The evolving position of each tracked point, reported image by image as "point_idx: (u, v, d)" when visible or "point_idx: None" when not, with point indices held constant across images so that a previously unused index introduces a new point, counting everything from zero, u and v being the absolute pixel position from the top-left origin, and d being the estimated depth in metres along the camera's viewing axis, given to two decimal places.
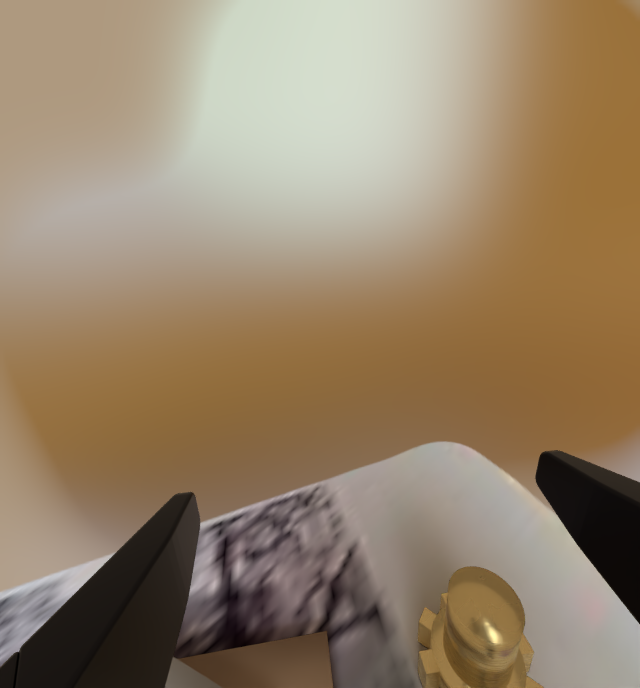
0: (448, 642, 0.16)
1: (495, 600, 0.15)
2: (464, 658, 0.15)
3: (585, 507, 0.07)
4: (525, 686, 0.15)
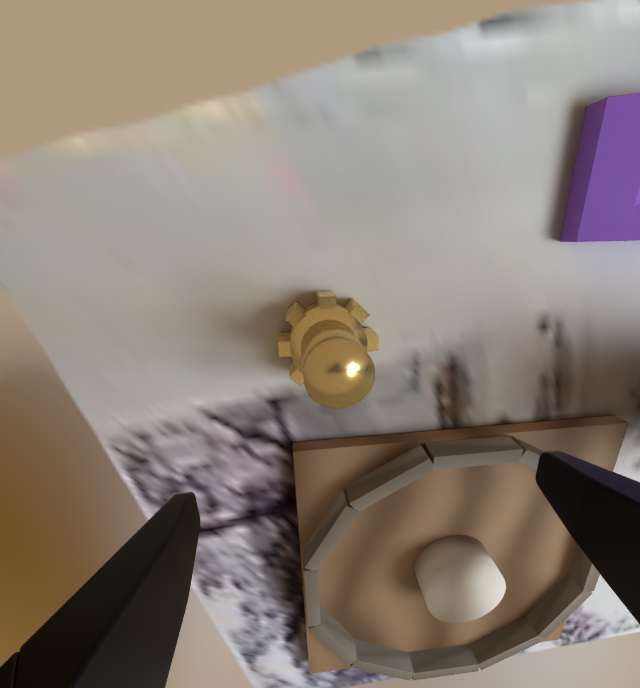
0: None
1: (340, 366, 0.14)
2: None
3: (585, 507, 0.07)
4: (356, 319, 0.18)
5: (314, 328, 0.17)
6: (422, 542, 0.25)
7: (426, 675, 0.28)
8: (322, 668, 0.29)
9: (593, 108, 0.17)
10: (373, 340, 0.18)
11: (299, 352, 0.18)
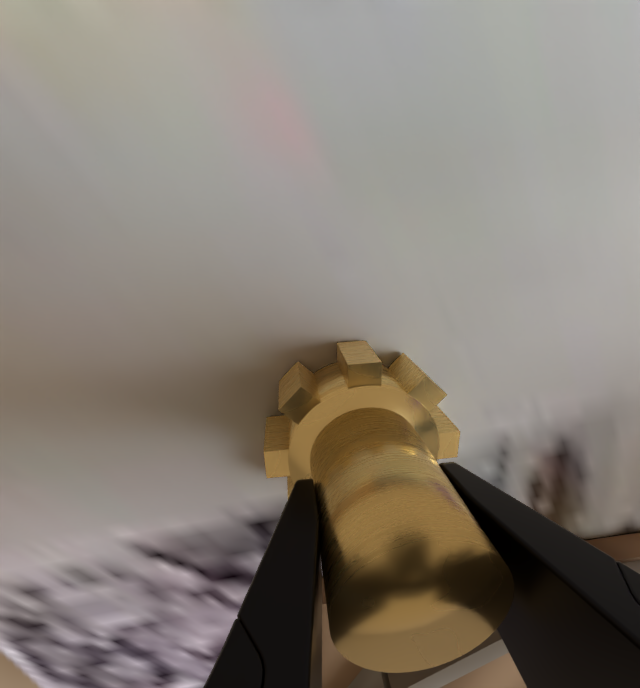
0: None
1: (429, 592, 0.05)
2: None
3: None
4: (421, 404, 0.09)
5: (340, 433, 0.08)
6: None
7: None
8: None
9: None
10: (450, 439, 0.09)
11: (307, 469, 0.09)
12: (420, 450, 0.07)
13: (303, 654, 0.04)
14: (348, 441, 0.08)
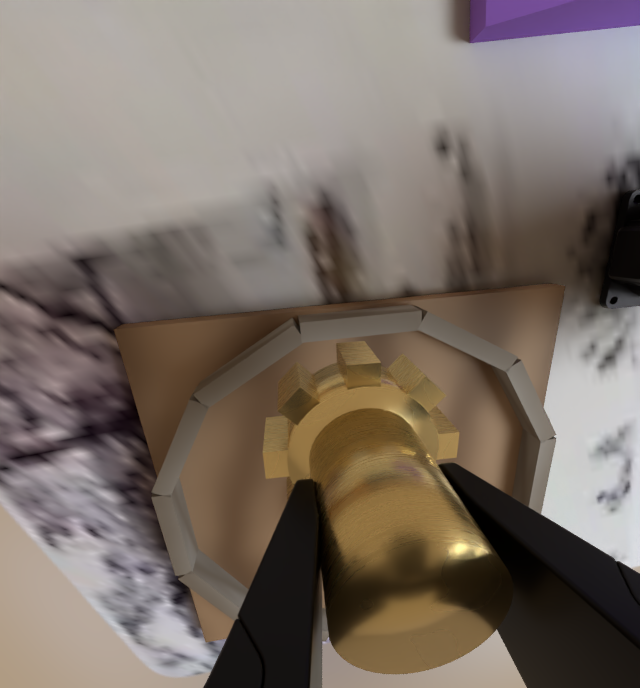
0: None
1: (427, 593, 0.05)
2: None
3: None
4: (420, 405, 0.09)
5: (339, 434, 0.08)
6: None
7: None
8: (221, 634, 0.23)
9: None
10: (449, 440, 0.09)
11: (306, 469, 0.09)
12: (419, 451, 0.07)
13: (303, 654, 0.04)
14: (347, 442, 0.08)
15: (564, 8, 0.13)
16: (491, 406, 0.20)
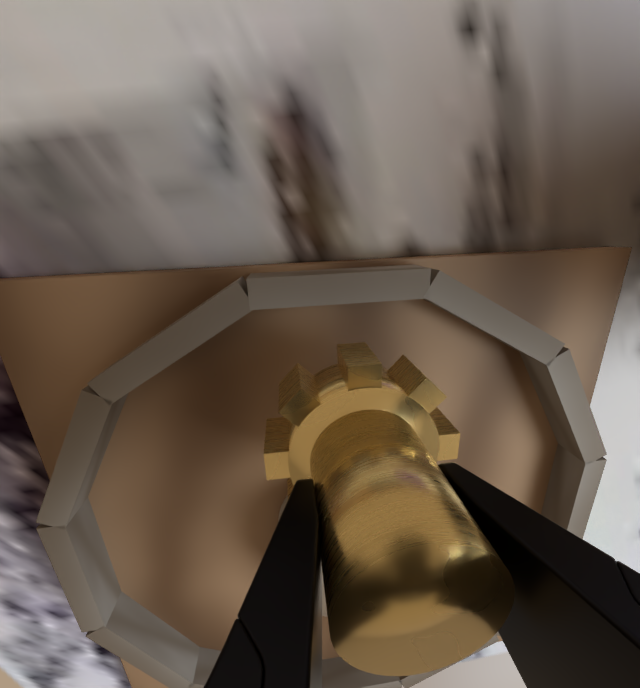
0: None
1: (429, 595, 0.05)
2: None
3: None
4: (421, 406, 0.09)
5: (340, 435, 0.08)
6: (284, 480, 0.14)
7: None
8: None
9: None
10: (450, 441, 0.09)
11: (307, 471, 0.09)
12: (420, 452, 0.07)
13: (303, 654, 0.04)
14: (348, 443, 0.08)
15: None
16: (518, 413, 0.15)
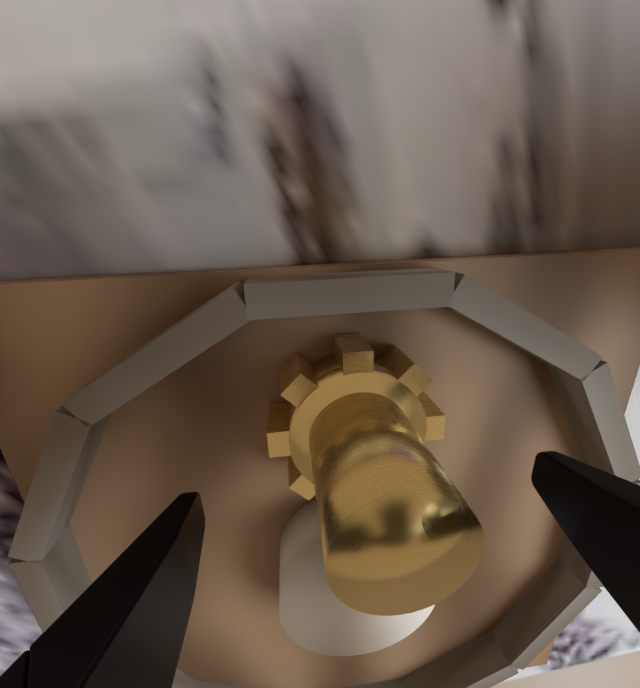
0: None
1: (410, 540, 0.06)
2: None
3: (580, 508, 0.07)
4: (409, 390, 0.10)
5: (335, 414, 0.09)
6: (286, 504, 0.13)
7: None
8: None
9: None
10: (436, 422, 0.10)
11: (306, 449, 0.10)
12: (407, 427, 0.08)
13: None
14: (343, 420, 0.08)
15: None
16: (544, 430, 0.13)
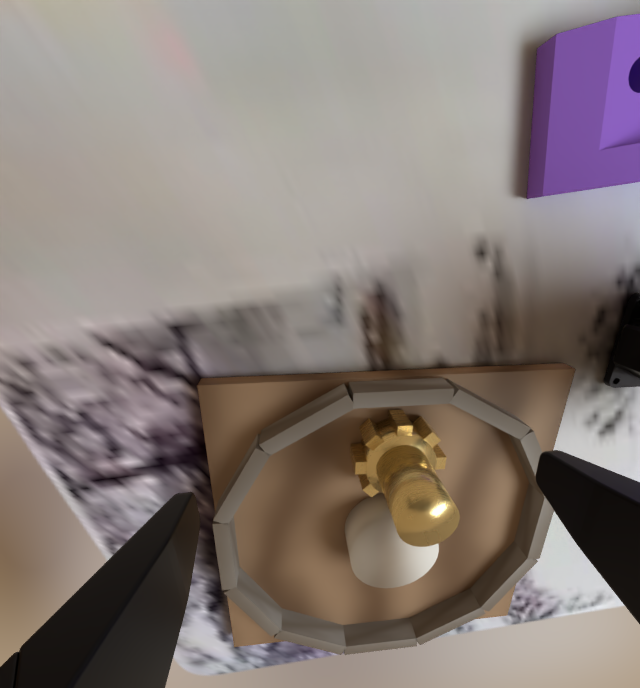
0: None
1: (430, 515, 0.16)
2: None
3: (585, 507, 0.07)
4: (429, 444, 0.19)
5: (393, 456, 0.18)
6: (352, 499, 0.23)
7: (359, 649, 0.26)
8: (248, 641, 0.26)
9: (543, 49, 0.15)
10: (441, 460, 0.20)
11: (374, 471, 0.19)
12: (428, 466, 0.18)
13: None
14: (398, 460, 0.18)
15: None
16: (503, 463, 0.23)
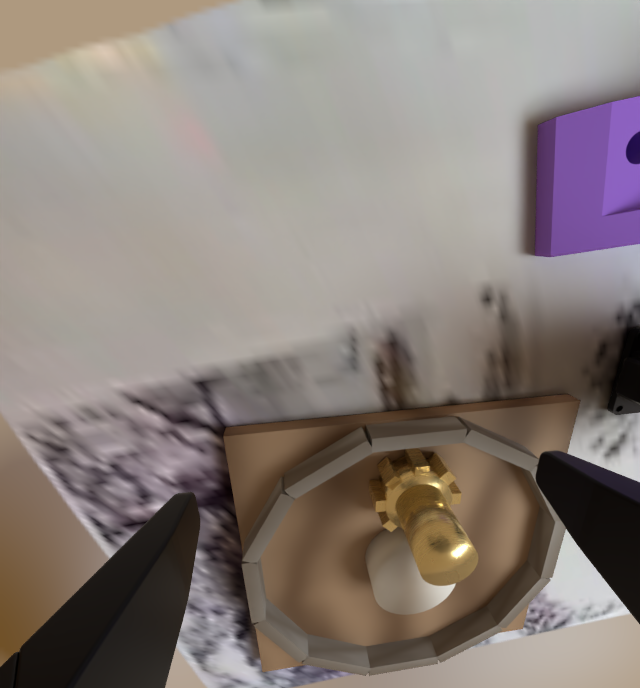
0: None
1: (451, 558, 0.17)
2: None
3: (585, 507, 0.07)
4: (445, 482, 0.20)
5: (412, 497, 0.19)
6: (371, 531, 0.24)
7: (382, 670, 0.27)
8: (276, 666, 0.27)
9: (544, 127, 0.17)
10: (457, 496, 0.21)
11: (393, 508, 0.20)
12: (446, 506, 0.19)
13: None
14: (417, 501, 0.19)
15: None
16: (514, 489, 0.24)
